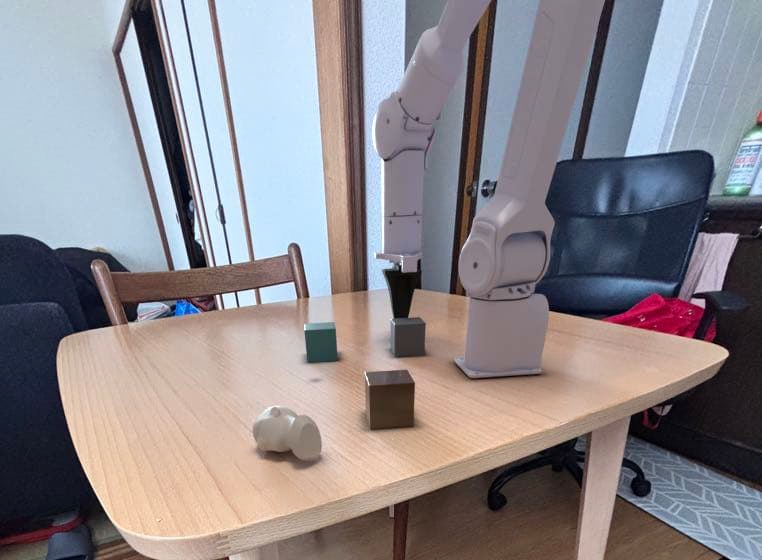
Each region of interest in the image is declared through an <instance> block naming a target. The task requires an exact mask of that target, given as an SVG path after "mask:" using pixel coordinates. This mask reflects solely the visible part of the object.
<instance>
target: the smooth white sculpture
mask: <svg viewBox="0 0 762 560" xmlns="http://www.w3.org/2000/svg"><path fill="white" fill-rule="evenodd" d="M252 436H253V439H254V441H255V443H256V444H257V447H258V449H259V450H261V451H263V452H264V451H265V452H266V451H268V452H269V451H270V452H271V451H272V452H273V451H274V452H279V453H281V452H289V451H292V453H293V454H294V456H295V457H297V458H298V459H299V460H302V461H312V460H314V459H315V458H317V457H318V456H319V455H320V454H321V453H322V449H323V443H322V442H323V441H322V436H321V432H320V429H319V426H318V425H317V423H316V422H315V421H314V420H313V419H312V418H311V417H310V416H308V415H306V414H300V415H298V414H297V412H296V411H295V410H293V409H291V408H289V407H287V406H284V405H274V406H270V407H268V408H266V409H265V410H263V411H261V413H260V414H259V415H258V416H257V417H256V419H255V421H254V422H253V425H252Z"/></svg>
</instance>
